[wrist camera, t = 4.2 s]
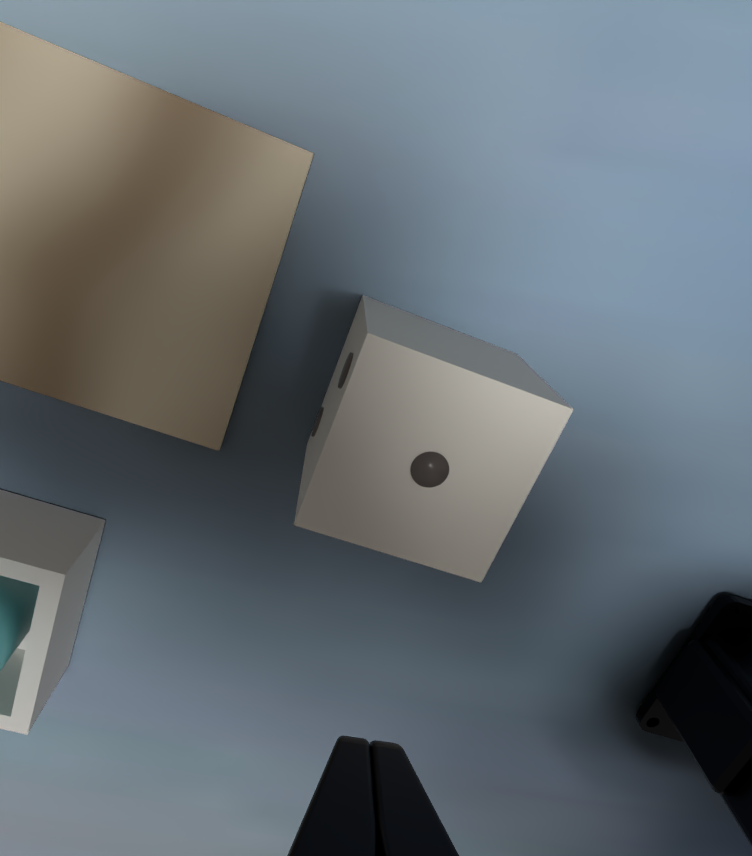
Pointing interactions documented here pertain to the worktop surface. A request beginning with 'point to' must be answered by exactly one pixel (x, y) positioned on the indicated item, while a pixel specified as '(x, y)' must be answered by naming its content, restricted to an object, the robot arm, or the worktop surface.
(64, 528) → the dome base
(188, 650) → the worktop surface
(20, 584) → the dome button
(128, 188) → the birch tile
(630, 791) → the worktop surface
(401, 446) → the die
